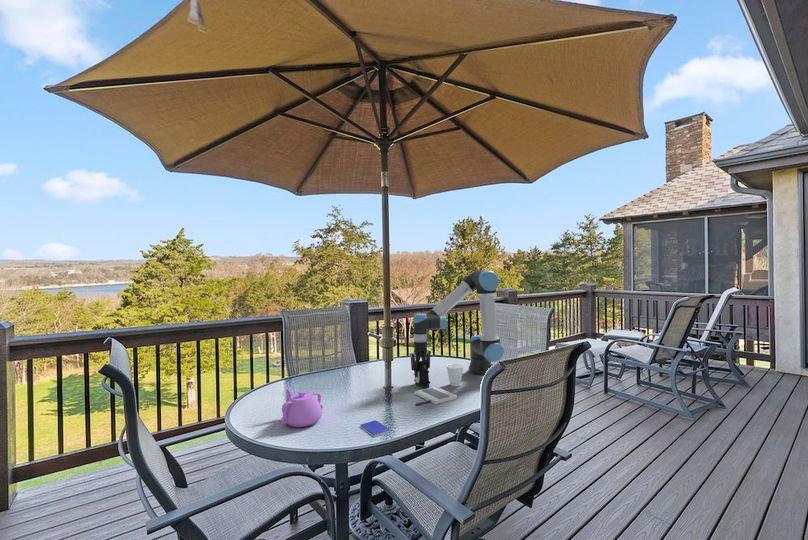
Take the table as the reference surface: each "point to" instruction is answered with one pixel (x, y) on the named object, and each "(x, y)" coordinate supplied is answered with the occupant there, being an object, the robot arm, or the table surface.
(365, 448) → the table surface
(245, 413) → the table surface
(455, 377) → the cup
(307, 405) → the teapot
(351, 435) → the table surface
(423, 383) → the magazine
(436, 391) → the charging pad
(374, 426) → the hard drive
